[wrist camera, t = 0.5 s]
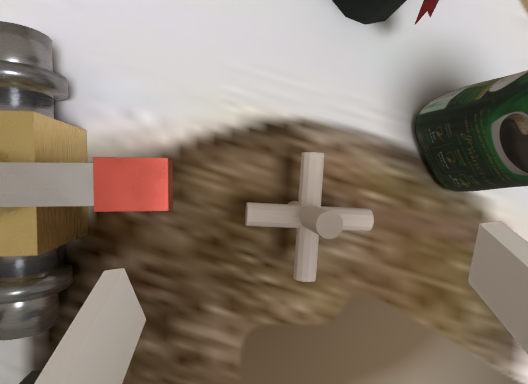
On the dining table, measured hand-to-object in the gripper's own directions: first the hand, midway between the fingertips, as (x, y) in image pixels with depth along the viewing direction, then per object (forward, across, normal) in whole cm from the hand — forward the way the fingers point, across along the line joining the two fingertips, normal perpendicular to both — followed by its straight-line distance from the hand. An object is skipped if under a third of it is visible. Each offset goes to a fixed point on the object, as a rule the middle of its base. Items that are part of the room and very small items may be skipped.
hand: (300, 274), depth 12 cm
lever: (+8, +14, -2) cm, 16 cm away
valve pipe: (+16, +20, +1) cm, 26 cm away
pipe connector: (+17, -1, +8) cm, 19 cm away
